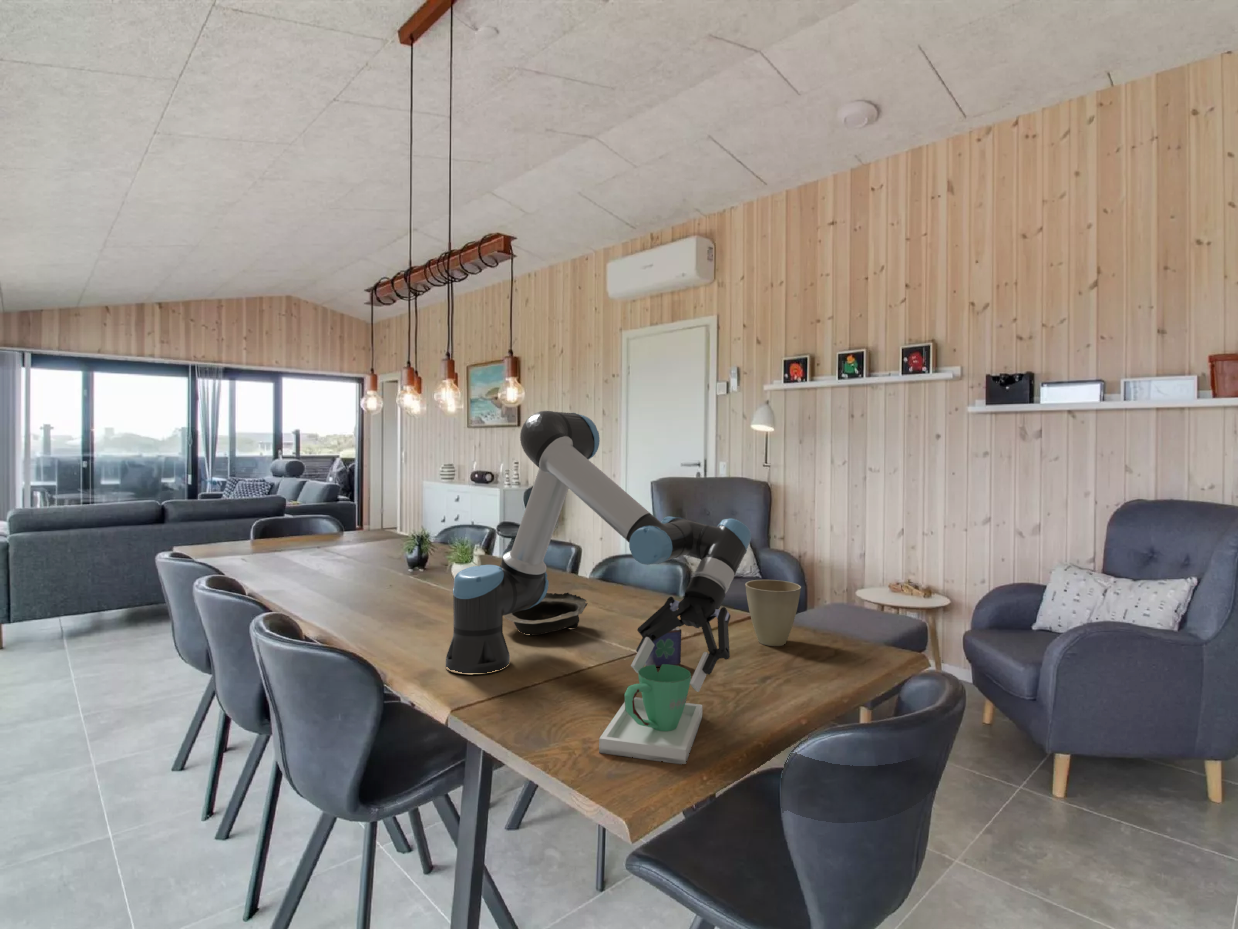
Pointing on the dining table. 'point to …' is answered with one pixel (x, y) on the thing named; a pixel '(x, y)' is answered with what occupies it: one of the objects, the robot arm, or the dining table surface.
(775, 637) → the plant pot
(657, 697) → the mug
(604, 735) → the cradle tray
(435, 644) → the dining table surface
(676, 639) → the flask
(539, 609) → the stone bowl
